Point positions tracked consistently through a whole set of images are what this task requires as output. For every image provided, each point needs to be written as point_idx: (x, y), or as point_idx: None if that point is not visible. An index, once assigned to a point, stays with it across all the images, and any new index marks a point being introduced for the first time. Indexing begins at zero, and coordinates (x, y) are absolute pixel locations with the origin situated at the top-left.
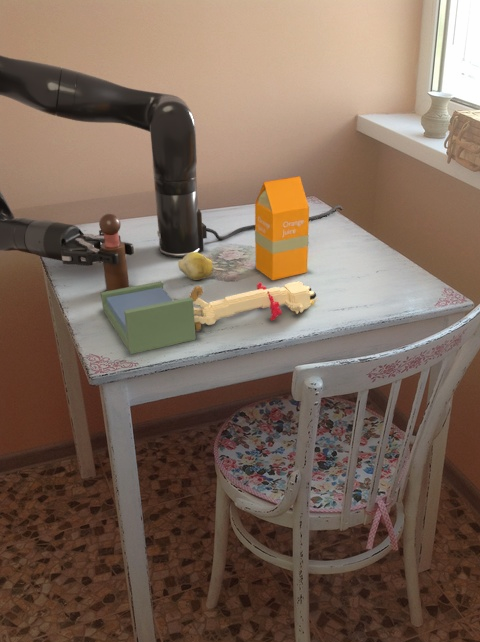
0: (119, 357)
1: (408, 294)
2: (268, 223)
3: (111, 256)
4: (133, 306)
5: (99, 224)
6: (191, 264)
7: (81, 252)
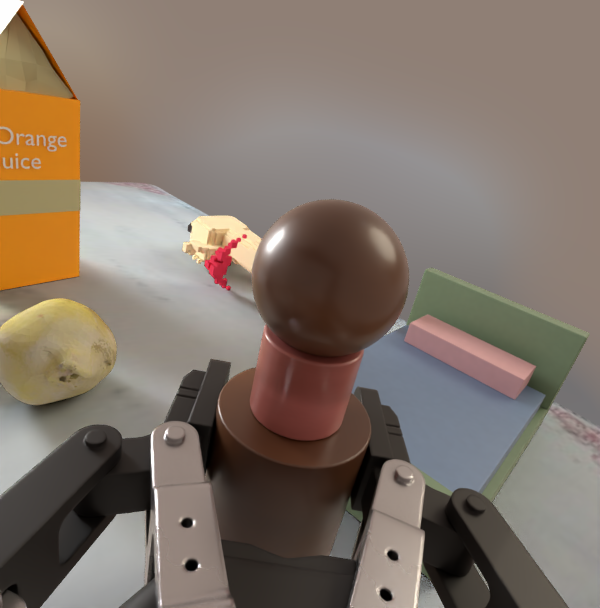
0: (569, 441)
1: (130, 198)
2: (56, 134)
3: (388, 407)
4: (448, 412)
5: (395, 302)
6: (107, 331)
7: (503, 554)
